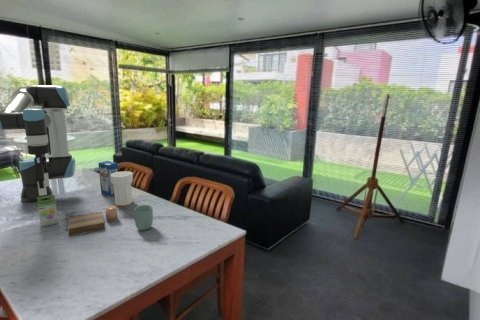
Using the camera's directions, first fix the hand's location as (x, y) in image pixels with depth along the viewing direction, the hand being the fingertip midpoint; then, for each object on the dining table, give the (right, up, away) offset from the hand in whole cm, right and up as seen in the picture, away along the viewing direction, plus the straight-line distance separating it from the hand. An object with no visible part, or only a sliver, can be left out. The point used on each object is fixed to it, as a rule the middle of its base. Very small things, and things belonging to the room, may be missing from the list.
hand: (44, 190), depth 123 cm
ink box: (-1, -16, +4) cm, 17 cm away
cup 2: (+45, -18, +2) cm, 48 cm away
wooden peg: (+26, -15, +10) cm, 32 cm away
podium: (+17, -17, +3) cm, 25 cm away
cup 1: (+23, -11, +30) cm, 40 cm away
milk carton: (+9, -7, +44) cm, 45 cm away
